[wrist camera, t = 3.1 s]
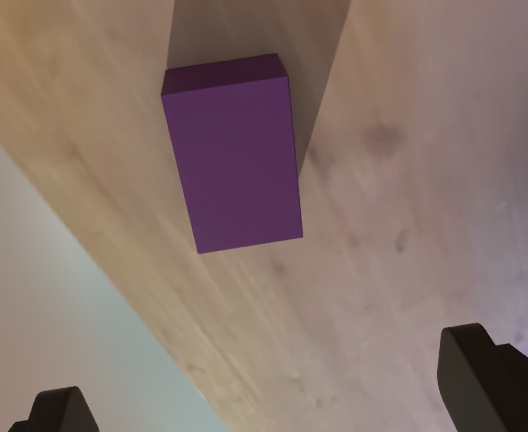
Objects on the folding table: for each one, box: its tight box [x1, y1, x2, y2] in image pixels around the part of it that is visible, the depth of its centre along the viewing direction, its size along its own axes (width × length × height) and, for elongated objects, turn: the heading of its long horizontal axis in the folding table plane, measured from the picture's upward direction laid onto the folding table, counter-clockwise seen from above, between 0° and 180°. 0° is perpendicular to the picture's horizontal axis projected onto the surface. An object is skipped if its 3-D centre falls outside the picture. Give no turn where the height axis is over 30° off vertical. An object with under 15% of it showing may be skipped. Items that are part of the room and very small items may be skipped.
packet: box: [161, 54, 303, 254], centre depth 21 cm, size 7×4×3 cm, turn 7°
